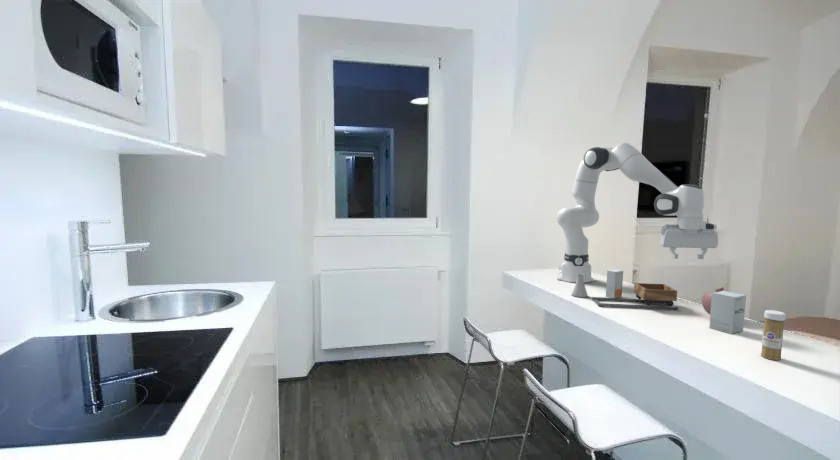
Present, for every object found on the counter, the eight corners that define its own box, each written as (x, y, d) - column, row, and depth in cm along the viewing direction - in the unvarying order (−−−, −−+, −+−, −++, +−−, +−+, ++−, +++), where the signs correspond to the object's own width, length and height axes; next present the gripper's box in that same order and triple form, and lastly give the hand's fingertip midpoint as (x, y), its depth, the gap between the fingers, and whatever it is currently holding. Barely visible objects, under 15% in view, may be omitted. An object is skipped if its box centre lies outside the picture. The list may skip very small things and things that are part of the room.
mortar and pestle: (741, 318, 158) (744, 288, 157) (737, 325, 149) (740, 293, 148) (703, 311, 166) (705, 283, 165) (697, 318, 158) (699, 288, 156)
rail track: (592, 299, 183) (592, 297, 183) (666, 302, 179) (666, 300, 179) (598, 306, 172) (599, 303, 172) (678, 310, 168) (678, 307, 168)
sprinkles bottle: (760, 358, 120) (764, 312, 119) (761, 353, 124) (764, 308, 122) (781, 362, 117) (785, 315, 116) (781, 357, 121) (785, 311, 119)
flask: (585, 294, 194) (586, 272, 193) (590, 298, 186) (591, 275, 185) (569, 293, 194) (570, 272, 193) (573, 297, 187) (574, 275, 186)
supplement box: (732, 334, 140) (735, 297, 139) (708, 328, 146) (711, 292, 145) (744, 331, 143) (747, 294, 142) (720, 324, 150) (722, 290, 149)
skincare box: (614, 298, 186) (615, 271, 184) (605, 296, 189) (606, 270, 188) (622, 296, 189) (623, 270, 188) (613, 294, 192) (614, 268, 191)
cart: (633, 297, 181) (634, 283, 180) (663, 299, 179) (664, 284, 179) (643, 305, 169) (644, 289, 169) (676, 306, 167) (677, 290, 167)
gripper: (665, 224, 168) (663, 259, 169) (721, 225, 165) (719, 260, 166) (658, 223, 174) (657, 256, 175) (712, 224, 171) (710, 258, 172)
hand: (687, 258), depth 171 cm, fingers open, 8 cm apart
